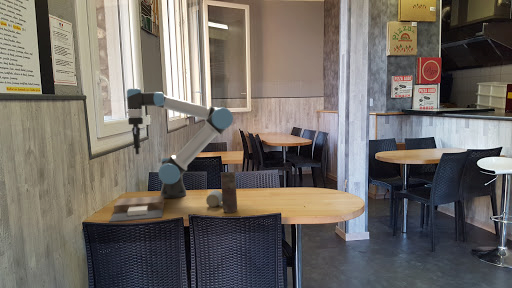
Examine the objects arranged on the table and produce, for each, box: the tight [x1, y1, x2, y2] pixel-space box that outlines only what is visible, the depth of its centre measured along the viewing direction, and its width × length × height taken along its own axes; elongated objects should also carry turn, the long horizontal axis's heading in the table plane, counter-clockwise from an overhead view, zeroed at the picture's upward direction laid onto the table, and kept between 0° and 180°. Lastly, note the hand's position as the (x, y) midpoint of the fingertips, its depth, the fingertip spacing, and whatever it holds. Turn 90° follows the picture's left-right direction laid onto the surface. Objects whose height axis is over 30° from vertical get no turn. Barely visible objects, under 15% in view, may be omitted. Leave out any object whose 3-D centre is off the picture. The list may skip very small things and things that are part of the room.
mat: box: [108, 208, 164, 223], centre depth 178 cm, size 24×14×1 cm, turn 102°
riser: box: [113, 195, 165, 214], centre depth 192 cm, size 24×14×4 cm, turn 102°
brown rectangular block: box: [220, 171, 238, 214], centre depth 181 cm, size 8×7×20 cm
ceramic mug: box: [205, 189, 223, 208], centre depth 192 cm, size 11×8×8 cm
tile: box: [127, 206, 148, 216], centre depth 182 cm, size 9×8×2 cm
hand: (137, 159), depth 201 cm, fingers closed
